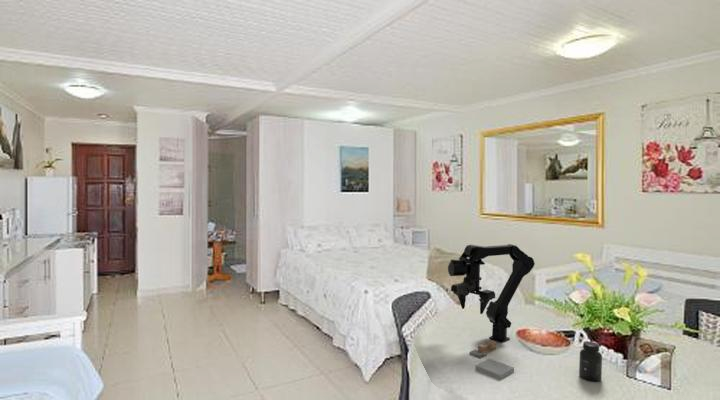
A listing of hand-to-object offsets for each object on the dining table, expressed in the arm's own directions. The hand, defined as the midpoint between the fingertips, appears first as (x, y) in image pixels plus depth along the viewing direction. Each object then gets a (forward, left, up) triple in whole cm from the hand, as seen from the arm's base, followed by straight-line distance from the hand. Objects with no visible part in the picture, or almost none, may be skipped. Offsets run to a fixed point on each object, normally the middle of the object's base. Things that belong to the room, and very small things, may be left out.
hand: (472, 311), depth 177 cm
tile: (+13, +22, -12) cm, 28 cm away
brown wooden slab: (+5, +10, -13) cm, 17 cm away
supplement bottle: (-4, +46, -13) cm, 48 cm away
